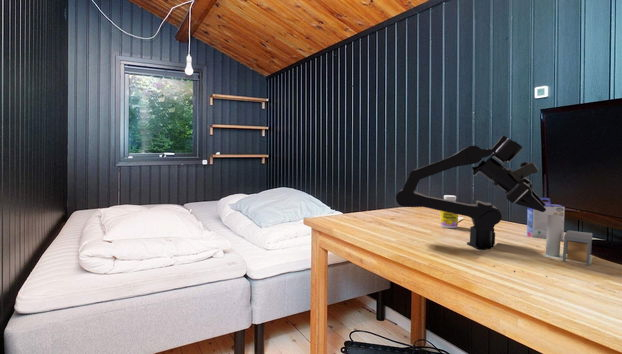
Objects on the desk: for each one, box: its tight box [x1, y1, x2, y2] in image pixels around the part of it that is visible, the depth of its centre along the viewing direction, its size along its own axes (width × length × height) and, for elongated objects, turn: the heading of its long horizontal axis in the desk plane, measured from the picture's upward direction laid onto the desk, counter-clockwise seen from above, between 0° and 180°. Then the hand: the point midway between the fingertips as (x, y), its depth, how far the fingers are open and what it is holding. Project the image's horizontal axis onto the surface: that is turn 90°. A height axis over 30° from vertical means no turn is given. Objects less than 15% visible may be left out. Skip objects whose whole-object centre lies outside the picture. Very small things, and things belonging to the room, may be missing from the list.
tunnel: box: [562, 229, 594, 267], centre depth 88 cm, size 5×9×8 cm, turn 137°
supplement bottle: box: [439, 194, 459, 229], centre depth 133 cm, size 7×7×13 cm
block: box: [566, 241, 588, 263], centre depth 88 cm, size 4×4×5 cm
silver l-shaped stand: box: [543, 215, 593, 265], centre depth 89 cm, size 10×6×12 cm, turn 47°
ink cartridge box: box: [526, 197, 566, 242], centre depth 113 cm, size 10×6×14 cm, turn 79°
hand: (544, 208), depth 95 cm, fingers open, 9 cm apart
